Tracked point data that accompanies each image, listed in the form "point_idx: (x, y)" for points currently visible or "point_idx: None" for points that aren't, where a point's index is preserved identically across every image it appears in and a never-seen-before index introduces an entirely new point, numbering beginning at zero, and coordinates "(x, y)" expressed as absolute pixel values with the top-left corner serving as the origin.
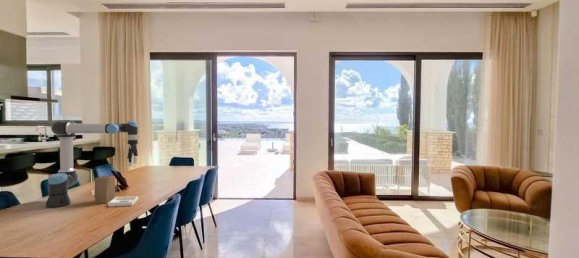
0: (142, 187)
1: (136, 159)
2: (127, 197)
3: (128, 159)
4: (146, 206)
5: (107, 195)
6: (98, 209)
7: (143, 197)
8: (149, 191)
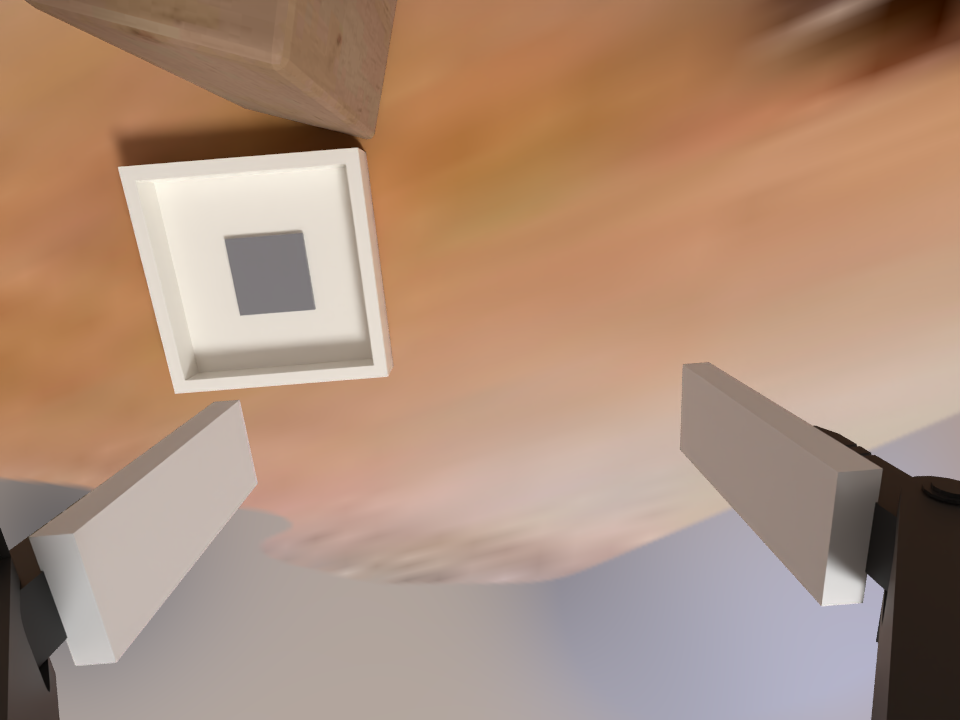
0: (920, 234)
1: (741, 506)
2: (362, 277)
3: (67, 510)
4: None
5: (216, 92)
6: (52, 113)
7: (475, 385)
8: None
